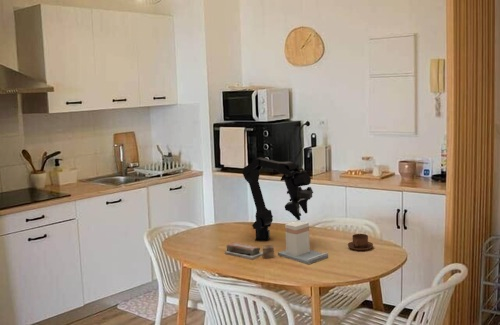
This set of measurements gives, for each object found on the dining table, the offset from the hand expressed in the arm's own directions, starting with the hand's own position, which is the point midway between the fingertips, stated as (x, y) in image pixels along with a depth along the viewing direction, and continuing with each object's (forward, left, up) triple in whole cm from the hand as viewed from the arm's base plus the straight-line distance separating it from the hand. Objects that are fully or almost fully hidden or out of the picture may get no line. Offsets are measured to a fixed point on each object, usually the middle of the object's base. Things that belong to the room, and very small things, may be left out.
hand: (303, 216), depth 282 cm
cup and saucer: (+28, -2, -15) cm, 32 cm away
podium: (+2, -17, -15) cm, 23 cm away
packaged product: (-26, -17, -15) cm, 35 cm away
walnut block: (-14, -19, -15) cm, 28 cm away
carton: (0, -15, -13) cm, 20 cm away
